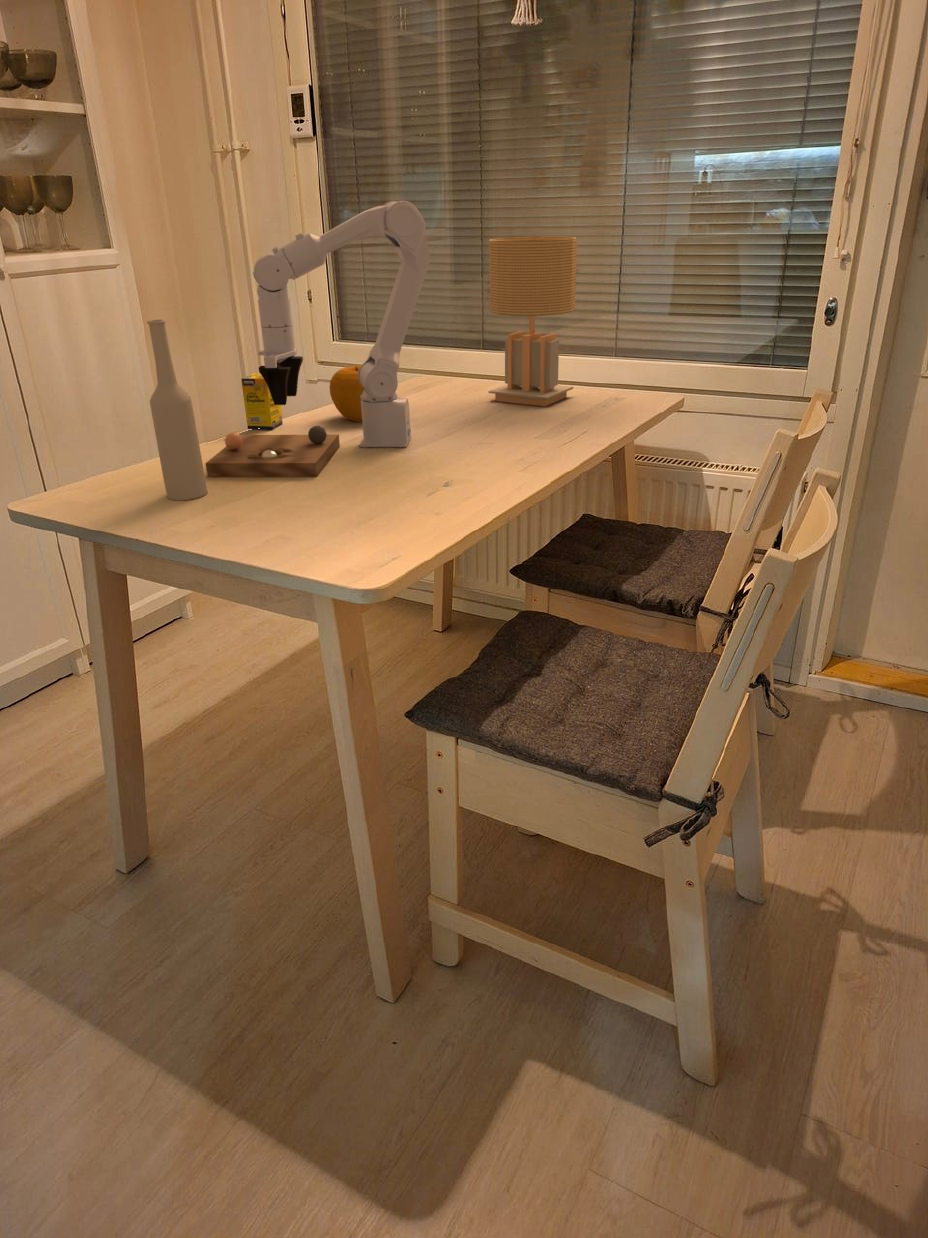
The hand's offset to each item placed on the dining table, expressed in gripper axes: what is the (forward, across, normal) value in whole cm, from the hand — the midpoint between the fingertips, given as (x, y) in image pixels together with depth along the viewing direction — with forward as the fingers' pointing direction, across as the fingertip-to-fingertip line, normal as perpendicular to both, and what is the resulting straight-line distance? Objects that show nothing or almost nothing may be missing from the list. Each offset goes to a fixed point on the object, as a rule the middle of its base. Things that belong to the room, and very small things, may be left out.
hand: (285, 400), depth 161 cm
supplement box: (+10, -20, -11) cm, 25 cm away
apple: (+10, -27, +9) cm, 30 cm away
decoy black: (+6, +4, +6) cm, 10 cm away
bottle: (+10, +27, -11) cm, 31 cm away
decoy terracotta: (+6, +8, -8) cm, 13 cm away
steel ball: (+8, +11, -1) cm, 14 cm away
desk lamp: (+10, -46, +47) cm, 67 cm away
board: (+10, +7, -1) cm, 12 cm away
